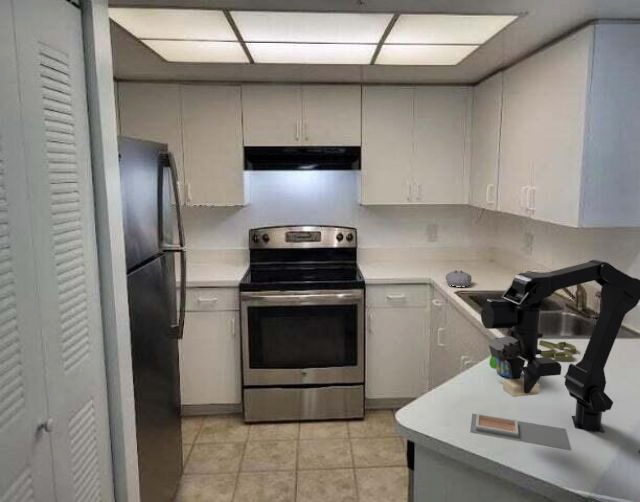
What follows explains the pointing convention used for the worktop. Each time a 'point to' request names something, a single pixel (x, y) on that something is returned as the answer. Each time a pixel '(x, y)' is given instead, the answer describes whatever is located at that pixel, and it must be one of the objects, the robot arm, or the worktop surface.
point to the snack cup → (500, 366)
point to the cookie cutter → (558, 355)
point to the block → (518, 387)
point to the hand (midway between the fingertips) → (520, 389)
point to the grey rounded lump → (458, 278)
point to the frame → (497, 425)
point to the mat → (532, 434)
